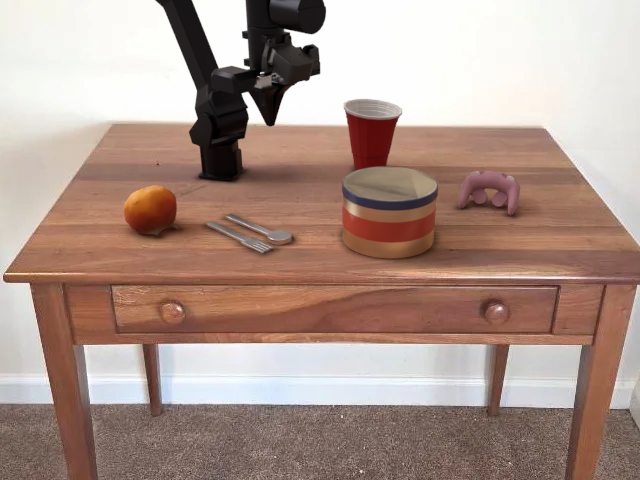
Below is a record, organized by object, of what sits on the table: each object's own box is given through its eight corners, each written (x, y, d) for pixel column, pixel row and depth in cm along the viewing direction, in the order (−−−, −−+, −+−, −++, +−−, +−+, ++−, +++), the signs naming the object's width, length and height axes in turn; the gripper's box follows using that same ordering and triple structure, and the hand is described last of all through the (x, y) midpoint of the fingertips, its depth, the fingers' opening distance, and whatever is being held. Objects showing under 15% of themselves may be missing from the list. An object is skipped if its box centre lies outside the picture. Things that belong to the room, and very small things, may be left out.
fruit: (161, 238, 110) (135, 188, 108) (133, 251, 115) (107, 204, 113) (199, 219, 116) (174, 172, 114) (170, 233, 121) (146, 188, 119)
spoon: (219, 220, 119) (219, 216, 119) (237, 214, 122) (236, 209, 121) (279, 247, 112) (278, 242, 111) (296, 239, 114) (296, 234, 114)
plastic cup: (394, 182, 135) (398, 116, 128) (336, 177, 136) (336, 111, 130) (403, 162, 144) (407, 99, 137) (349, 157, 145) (349, 95, 139)
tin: (331, 252, 110) (331, 195, 105) (353, 215, 122) (353, 162, 117) (426, 264, 108) (431, 206, 103) (439, 224, 120) (444, 170, 115)
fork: (203, 227, 117) (203, 224, 117) (214, 222, 119) (214, 220, 118) (262, 254, 110) (262, 250, 109) (273, 249, 111) (273, 246, 111)
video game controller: (516, 217, 126) (524, 176, 125) (514, 215, 122) (522, 172, 121) (459, 209, 129) (466, 168, 128) (455, 206, 124) (462, 164, 123)
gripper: (255, 41, 104) (261, 150, 112) (345, 24, 116) (344, 124, 124) (204, 30, 110) (213, 134, 118) (295, 15, 122) (297, 110, 130)
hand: (270, 125), depth 123 cm, fingers closed
